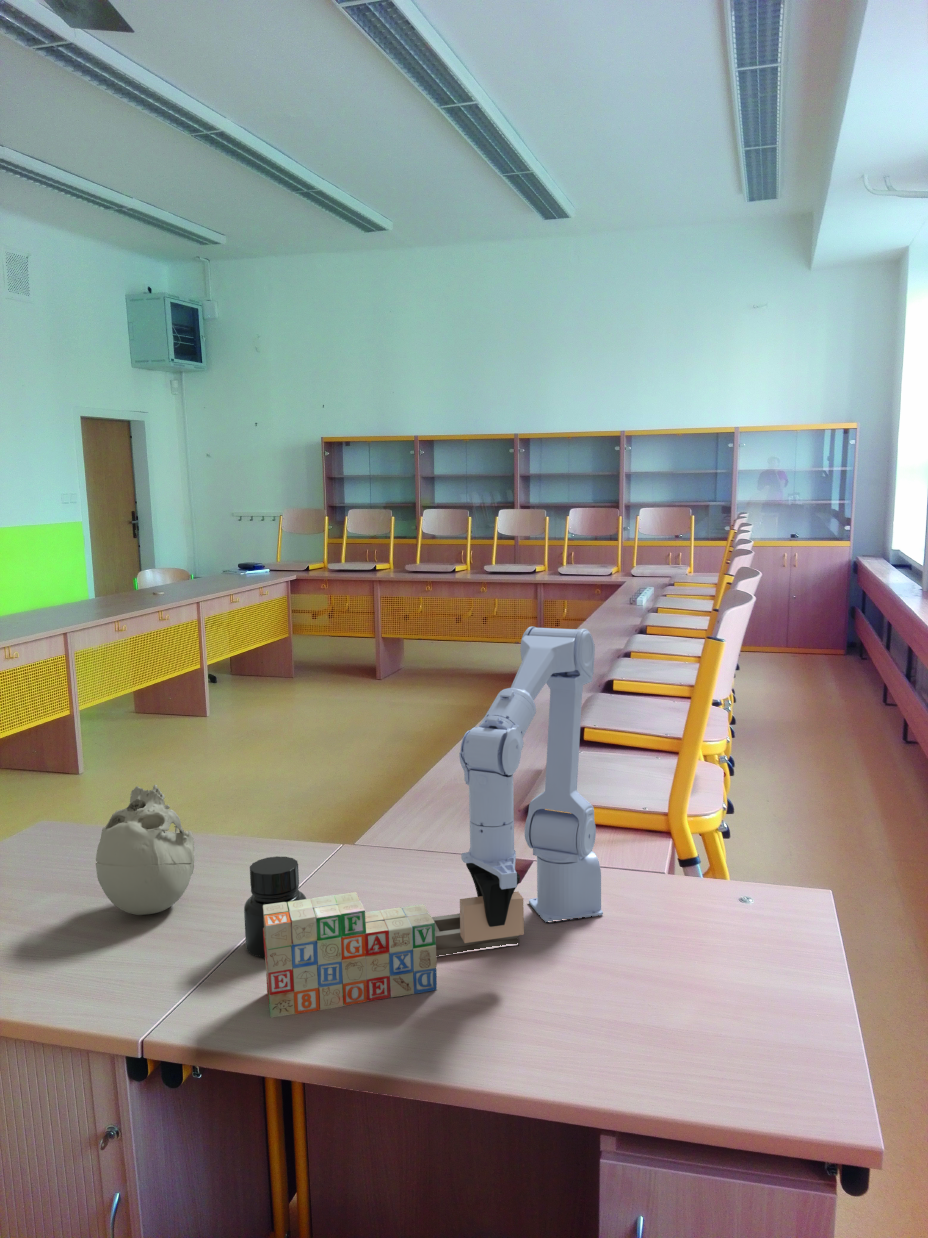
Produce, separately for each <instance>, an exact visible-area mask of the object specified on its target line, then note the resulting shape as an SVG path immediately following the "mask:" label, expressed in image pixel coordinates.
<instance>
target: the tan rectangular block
mask: <svg viewBox="0 0 928 1238" xmlns="http://www.w3.org/2000/svg"><path fill="white" fill-rule="evenodd" d="M524 912H525V909H524V897H523V896H522V894H521V893H520V892H519V891H514V892H513V895H512V897H511V900H510V904H509V908H508V913H507V917H506V921H505V925H501V926H494V927H490V926H489V925H488V922H487V919H486V914H485V907H484V901H483V896H479V897H478V896H473V897H466V898H460V899H459V914H460V936H461V937H462V939H463V941H464V943H469V942H476V941H483V940H490V939H497V938H504V937H511V936H518V937H519V936H523V935H525V932H524V931H525V928H524V927H525V923H524V915H525V913H524Z"/></svg>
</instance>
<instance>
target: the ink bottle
mask: <svg viewBox="0 0 928 1238" xmlns="http://www.w3.org/2000/svg"><path fill="white" fill-rule="evenodd" d="M299 871H300V870H299V861H298V860H296V859H295V858H293V857H289V856H269V857H265V858H262V859H258V860H257V861H254V862H252V863H251V864H250V866H249V879H250V893H251V895H250V897H248V899H246V902H245V903H244V907H243V914H244V918H243V919H244V935H245V936H244V938H245V949H246V950H247V952H248V953H250V954H251V955H253V956H255V957H257V958H258V957H259V958H264V959H265V951H264V937H263V928H264V917H263V905H266V904H274V903H281V902H290V901H298V900H304V899H307V897H306V895H305V894H304V893H303V892H302V891H301V890H299V888H300V885H299V884H300V875H299Z"/></svg>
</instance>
